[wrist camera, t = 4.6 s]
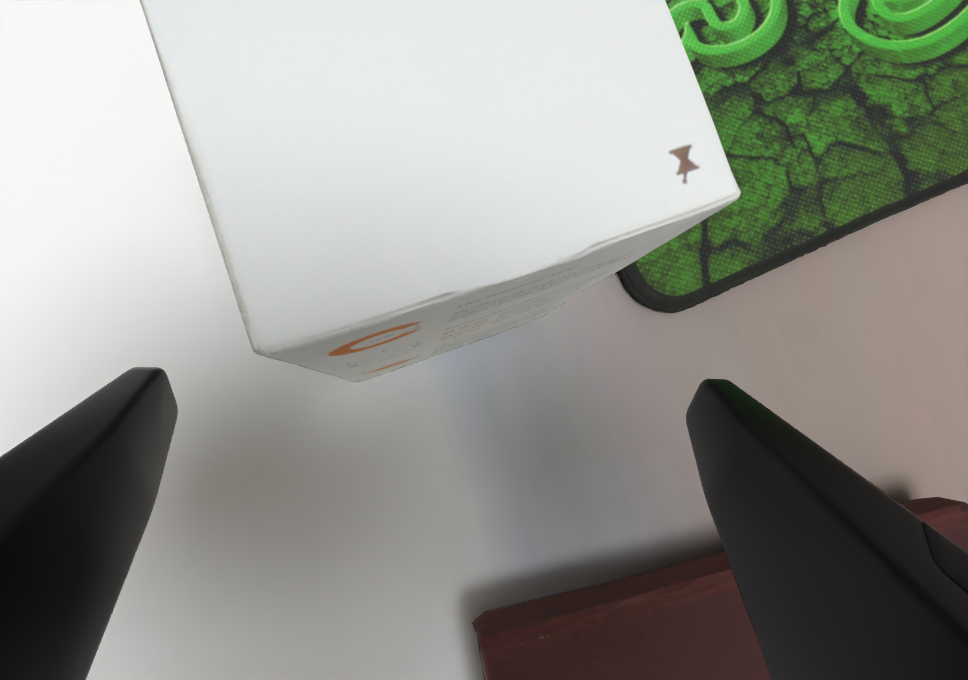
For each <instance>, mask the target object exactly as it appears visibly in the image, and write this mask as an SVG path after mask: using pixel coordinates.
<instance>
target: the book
mask: <svg viewBox="0 0 968 680" xmlns="http://www.w3.org/2000/svg"><path fill="white" fill-rule="evenodd" d="M901 505H902V506H904V507H905V508H906V509H908V510H909V511H911V512H912V513H913V514H915V515H916V516H918V517H919V518H920V520H921V522H926V523H927V524H929V525H930V526H932V527H933V528H934V529H936V530H937V531H938V532H940V533H941V534H943V535H944V536H945V537H947V538H948V539H950V540H951V541H952V542H954V543H955V544H957V545H958V546H960V547H961V548H962V549H964V550H965V551H967V552H968V504H967V503H965V502H960V501H955V500H950V499H945V498H940V497H933V498H922V499H915V500H912V501H909V502H906V503H903V504H901ZM472 624H473V627H474V629H475V632H476V634H477V639H478V645H479V651H480V657H481V663H482V668H483V673H484V678H485V680H772V678H771V675H770V672H769V669H768V667H767V664H766V661H765V659H764V656H763V653H762V650H761V648H760V645H759V642H758V640H757V637H756V634H755V632H754V629H753V626H752V623H751V621H750V618H749V615H748V613H747V610H746V607H745V604H744V602H743V599H742V596H741V594H740V591H739V588H738V586H737V583H736V580H735V577H734V575H733V572H732V569H731V567H730V564H729V561H728V558H727V556H726V553H725V552H723V553H719V554H715V555H711V556H707V557H703V558H700V559H696V560H692V561H688V562H685V563H681V564H677V565H673V566H669V567H665V568H661V569H658V570H654V571H650V572H646V573H642V574H638V575H634V576H630V577H626V578H622V579H619V580H615V581H611V582H607V583H603V584H600V585H596V586H592V587H588V588H584V589H580V590H576V591H572V592H567V593H563V594H558V595H554V596H549V597H545V598H541V599H537V600H533V601H529V602H525V603H520V604H516V605H512V606H508V607H503V608H499V609H495V610H490V611H486V612H484V613H483V614H481V615H480V616H479V617H478V618H477V619H476V620H475V621H473V622H472Z"/></svg>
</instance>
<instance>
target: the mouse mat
mask: <svg viewBox="0 0 968 680" xmlns="http://www.w3.org/2000/svg"><path fill="white" fill-rule="evenodd" d="M665 1H666V4H667V6H668V9H669V11H670V14H671V16H672V19H673V21H674V24H675V26H676V29H677V31H678V34H679V36H680V39H681V41H682V44H683V46H684V49H685V51H686V54H687V56H688V59H689V61H690V64H691V66H692V69H693V71H694V74H695V77H696V79H697V82H698V84H699V87H700V89H701V92H702V94H703V97H704V99H705V102H706V105H707V107H708V110H709V112H710V115H711V118H712V120H713V123H714V125H715V128H716V131H717V134H718V136H719V139H720V142H721V145H722V147H723V150H724V153H725V156H726V158H727V161H728V164H729V166H730V169H731V172H732V174H733V176H734V178H735V180H736V183H737V185H738V187H739V189H740V191H741V194H740V197H739V198H738V199H737V200H736V201H734V202H733V203H731V204H729V205H728V206H726V207H724V208H723V209H721V210H720V211H718V212H716V213H714V214H713V215H711V216H709V217H707V218H706V219H704V220H703V221H701V222H699V223H698V224H696V225H695V226H693V227H691V228H690V229H688V230H686V231H685V232H683V233H681V234H680V235H678V236H676V237H674V238H673V239H671V240H669V241H668V242H666V243H664V244H663V245H661V246H659V247H658V248H656V249H654V250H652V251H651V252H649V253H648V254H646V255H644V256H643V257H641V258H640V259H638V260H636V261H634V262H633V263H631V264H629V265H628V266H626V267H624V268H622V269H621V270H619V273H620V276H621V278H622V279H623V282H624V285H625V286H626V288H627V290H628V292H629V293H631V294H632V295H633V297H634V298H635V299H636V300H638V301H639V302H640V303H641V304H643V305H645V306H647V307H649V308H651V309H653V310H655V311H661V312H667V313H675V312H679V311H683V310H685V309H688V308H691V307H694V306H695V305H697V304H699V303H702V302H704V301H706V300H708V299H710V298H712V297H715V296H717V295H720V294H721V293H723V292H725V291H728V290H729V289H731V288H733V287H736V286H738V285H741V284H743V283H744V282H746V281H748V280H751V279H753V278H755V277H758V276H760V275H762V274H764V273H766V272H768V271H770V270H773V269H775V268H777V267H780V266H782V265H784V264H786V263H788V262H790V261H792V260H794V259H796V258H798V257H801V256H803V255H805V254H807V253H810V252H812V251H815V250H817V249H818V248H820V247H824V246H826V245H828V244H829V243H831V242H834V241H836V240H838V239H841V238H843V237H844V236H846V235H848V234H851V233H853V232H855V231H858V230H860V229H862V228H864V227H867V226H869V225H871V224H873V223H875V222H877V221H880V220H882V219H884V218H887V217H889V216H891V215H894V214H896V213H899V212H901V211H904V210H906V209H909V208H911V207H913V206H915V205H917V204H919V203H922V202H924V201H927V200H929V199H931V198H933V197H936V196H939V195H941V194H943V193H945V192H947V191H950V190H952V189H955V188H957V187H960V186H962V185H965V184H967V183H968V0H665Z"/></svg>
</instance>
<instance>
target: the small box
mask: <svg viewBox="0 0 968 680" xmlns="http://www.w3.org/2000/svg"><path fill="white" fill-rule="evenodd" d="M140 2H141V5H142V8H143V12H144V15H145V18H146V21H147V24H148V27H149V30H150V33H151V36H152V39H153V42H154V45H155V48H156V52H157V55H158V58H159V61H160V64H161V67H162V70H163V73H164V76H165V80H166V83H167V86H168V89H169V92H170V95H171V98H172V101H173V104H174V108H175V111H176V114H177V117H178V120H179V123H180V126H181V129H182V132H183V135H184V138H185V142H186V145H187V148H188V151H189V154H190V157H191V160H192V163H193V166H194V169H195V172H196V175H197V178H198V182H199V185H200V188H201V191H202V194H203V197H204V200H205V203H206V206H207V209H208V212H209V215H210V218H211V221H212V225H213V228H214V231H215V234H216V237H217V240H218V243H219V246H220V250H221V253H222V256H223V259H224V262H225V265H226V268H227V271H228V275H229V278H230V281H231V284H232V287H233V290H234V293H235V296H236V300H237V303H238V306H239V309H240V312H241V315H242V318H243V321H244V325H245V328H246V331H247V334H248V337H249V340H250V343H251V346H252V349H253V351H254V352H255V353H256V354H259V355H262V356H266V357H270V358H273V359H277V360H280V361H284V362H288V363H292V364H296V365H299V366H302V367H305V368H309V369H312V370H315V371H319V372H322V373H326V374H329V375H333V376H337V377H340V378H344V379H347V380H351V381H354V382H360V381H363V380H366V379H369V378H372V377H375V376H378V375H381V374H384V373H387V372H390V371H393V370H396V369H399V368H401V367H404V366H407V365H410V364H413V363H416V362H418V361H421V360H424V359H427V358H430V357H433V356H435V355H438V354H441V353H444V352H447V351H449V350H452V349H455V348H458V347H461V346H463V345H466V344H469V343H472V342H475V341H477V340H480V339H483V338H486V337H489V336H491V335H494V334H497V333H500V332H503V331H505V330H508V329H511V328H514V327H516V326H519V325H522V324H525V323H527V322H530V321H532V320H535V319H537V318H540V317H542V316H544V315H546V314H548V313H549V312H551V311H552V310H554V309H556V308H557V307H559V306H561V305H562V304H564V303H565V302H567V301H568V300H570V299H571V298H573V297H574V296H576V295H577V294H579V293H581V292H582V291H584V290H586V289H587V288H589V287H591V286H593V285H594V284H596V283H598V282H599V281H601V280H603V279H605V278H607V277H608V276H610V275H612V274H614V273H616V272H617V271H619V270H621V269H622V268H624V267H626V266H628V265H629V264H631V263H633V262H634V261H636V260H638V259H640V258H641V257H643V256H644V255H646V254H648V253H649V252H651V251H652V250H654V249H656V248H658V247H659V246H661V245H663V244H664V243H666V242H668V241H669V240H671V239H673V238H674V237H676V236H678V235H680V234H681V233H683V232H685V231H686V230H688V229H690V228H691V227H693V226H695V225H696V224H698V223H699V222H701V221H703V220H704V219H706V218H707V217H709V216H711V215H713V214H714V213H716V212H718V211H720V210H721V209H723V208H724V207H726V206H728V205H729V204H731V203H733V202H734V201H736V200H737V199H738V198H739V197H740V194H741V191H740V189H739V187H738V185H737V183H736V180H735V178H734V176H733V174H732V172H731V169H730V166H729V164H728V161H727V158H726V156H725V153H724V150H723V147H722V145H721V142H720V139H719V136H718V134H717V131H716V128H715V125H714V123H713V120H712V118H711V115H710V112H709V110H708V107H707V105H706V102H705V99H704V97H703V94H702V92H701V89H700V87H699V84H698V82H697V79H696V77H695V74H694V71H693V69H692V66H691V64H690V61H689V59H688V56H687V54H686V51H685V49H684V46H683V44H682V41H681V39H680V36H679V34H678V31H677V29H676V26H675V24H674V21H673V19H672V16H671V14H670V11H669V9H668V6H667V4H666V1H665V0H140Z"/></svg>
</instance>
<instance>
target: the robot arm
mask: <svg viewBox="0 0 968 680" xmlns="http://www.w3.org/2000/svg"><path fill="white" fill-rule="evenodd" d="M177 413H178V408H177V403H176V400H175V397H174V394H173V391H172V388H171V386H170V383H169V380H168V377H167V375H166V373H165V371H164V370H163V369H161V368H157V367H135V368H132V369H130V370H128V371H126V372H125V373H123V374H122V375H121V376H119V377H118V378H116V379H115V380H113V381H112V382H110V383H109V384H107V385H106V386H104V387H103V388H101V389H100V390H98V391H97V392H95V393H94V394H92V395H91V396H90V397H88V398H87V399H85V400H84V401H82V402H81V403H79V404H78V405H76V406H75V407H73V408H72V409H70V410H69V411H67V412H66V413H64V414H63V415H61V416H60V417H59V418H57V419H56V420H54V421H53V422H51V423H50V424H48V425H47V426H45V427H44V428H42V429H41V430H39V431H38V432H36V433H35V434H33V435H32V436H31V437H29V438H28V439H26V440H25V441H23V442H22V443H20V444H19V445H17V446H16V447H14V448H13V449H11V450H10V451H8V452H7V453H5V454H4V455H2V456H1V457H0V680H86V678H87V675H88V673H89V670H90V667H91V665H92V662H93V660H94V657H95V655H96V652H97V650H98V647H99V645H100V642H101V640H102V637H103V635H104V632H105V629H106V627H107V624H108V622H109V619H110V617H111V614H112V612H113V609H114V607H115V604H116V602H117V599H118V596H119V594H120V591H121V589H122V586H123V584H124V581H125V579H126V576H127V574H128V571H129V569H130V566H131V563H132V561H133V558H134V556H135V553H136V551H137V548H138V546H139V543H140V541H141V538H142V536H143V533H144V530H145V528H146V525H147V523H148V520H149V518H150V515H151V512H152V509H153V507H154V503H155V500H156V497H157V493H158V489H159V486H160V482H161V478H162V474H163V470H164V466H165V462H166V459H167V455H168V451H169V447H170V443H171V439H172V435H173V432H174V428H175V424H176V420H177ZM686 423H687V427H688V431H689V435H690V439H691V443H692V447H693V451H694V455H695V459H696V463H697V467H698V471H699V475H700V479H701V483H702V487H703V491H704V494H705V498H706V501H707V504H708V507H709V510H710V512H711V515H712V518H713V521H714V523H715V526H716V529H717V531H718V534H719V537H720V539H721V542H722V545H723V548H724V550H725V553H726V556H727V558H728V561H729V564H730V567H731V569H732V572H733V575H734V577H735V580H736V583H737V586H738V588H739V591H740V594H741V596H742V599H743V602H744V604H745V607H746V610H747V613H748V615H749V618H750V621H751V623H752V626H753V629H754V632H755V634H756V637H757V640H758V642H759V645H760V648H761V650H762V653H763V656H764V659H765V661H766V664H767V667H768V669H769V672H770V675H771V678H772V680H968V552H967V551H965V550H964V549H962V548H961V547H960V546H958V545H957V544H955V543H954V542H952V541H951V540H950V539H948V538H947V537H945V536H944V535H943V534H941V533H940V532H938V531H937V530H936V529H934V528H933V527H932V526H930V525H929V524H927V523H926V522H921V520H920V518H919V517H918V516H916V515H915V514H913V513H912V512H911V511H909V510H908V509H906V508H905V507H904V506H902V505H901V504H900V503H898V502H897V501H895V500H894V499H893V498H891V497H890V496H888V495H887V494H886V493H884V492H883V491H881V490H880V489H879V488H877V487H876V486H875V485H873V484H872V483H870V482H869V481H868V480H866V479H865V478H863V477H862V476H861V475H859V474H858V473H857V472H855V471H854V470H852V469H851V468H850V467H848V466H847V465H845V464H844V463H843V462H841V461H840V460H838V459H837V458H836V457H834V456H833V455H832V454H830V453H829V452H827V451H826V450H825V449H823V448H822V447H820V446H819V445H818V444H816V443H815V442H814V441H812V440H811V439H809V438H808V437H807V436H805V435H804V434H802V433H801V432H800V431H798V430H797V429H795V428H794V427H793V426H791V425H790V424H789V423H787V422H786V421H784V420H783V419H782V418H780V417H779V416H777V415H776V414H775V413H773V412H772V411H771V410H769V409H768V408H766V407H765V406H764V405H762V404H761V403H759V402H758V401H757V400H755V399H754V398H752V397H751V396H750V395H748V394H747V393H746V392H744V391H743V390H741V389H740V388H739V387H737V386H736V385H734V384H733V383H732V382H730V381H728V380H725V379H706V380H704V381H703V382H701V384H700V385H699V387H698V389H697V391H696V393H695V395H694V398H693V400H692V402H691V404H690V406H689V408H688V410H687V414H686Z"/></svg>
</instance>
